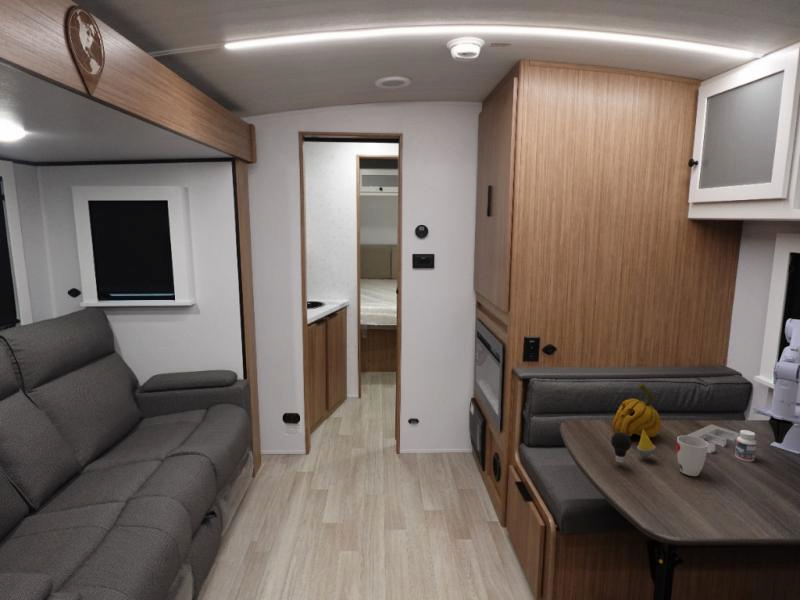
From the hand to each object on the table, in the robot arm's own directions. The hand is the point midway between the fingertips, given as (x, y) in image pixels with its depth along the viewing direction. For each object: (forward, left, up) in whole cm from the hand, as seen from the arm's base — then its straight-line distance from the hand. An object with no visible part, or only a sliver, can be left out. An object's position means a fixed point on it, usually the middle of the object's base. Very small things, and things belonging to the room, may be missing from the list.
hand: (778, 442), depth 148 cm
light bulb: (+38, -29, -9) cm, 48 cm away
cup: (+25, -14, -9) cm, 30 cm away
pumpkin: (+19, -40, -10) cm, 45 cm away
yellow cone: (+27, -26, -9) cm, 38 cm away
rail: (-4, -21, -9) cm, 23 cm away
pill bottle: (0, -9, -9) cm, 12 cm away
